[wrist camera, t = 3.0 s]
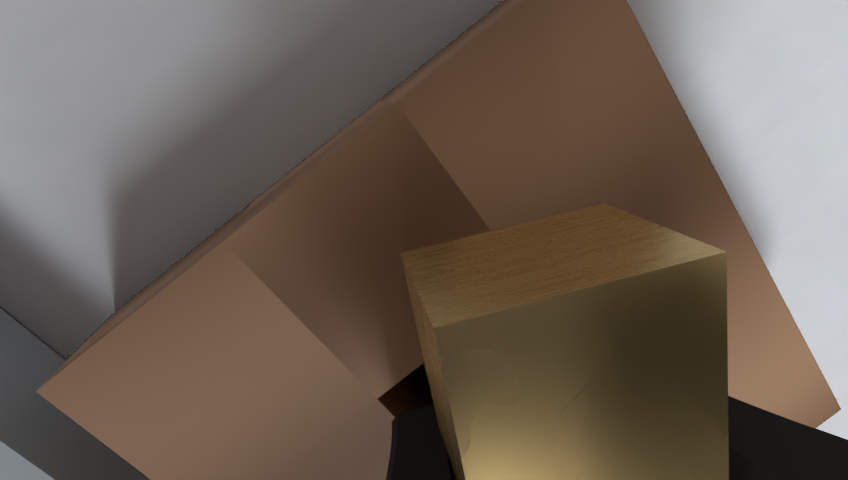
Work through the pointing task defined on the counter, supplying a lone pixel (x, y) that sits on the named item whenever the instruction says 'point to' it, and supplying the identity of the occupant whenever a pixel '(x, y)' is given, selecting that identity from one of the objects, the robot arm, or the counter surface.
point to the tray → (44, 420)
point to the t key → (576, 349)
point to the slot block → (407, 230)
